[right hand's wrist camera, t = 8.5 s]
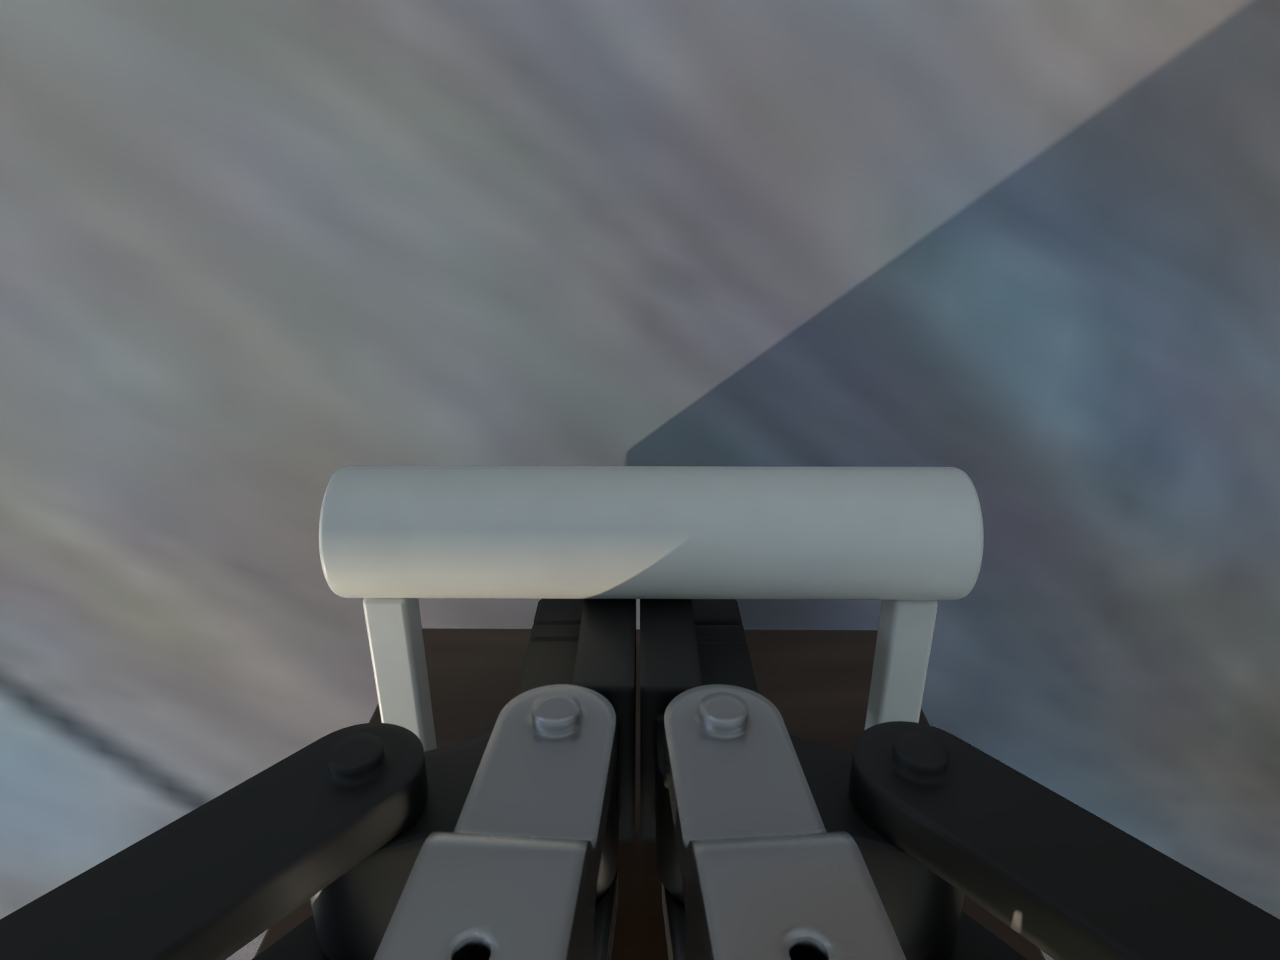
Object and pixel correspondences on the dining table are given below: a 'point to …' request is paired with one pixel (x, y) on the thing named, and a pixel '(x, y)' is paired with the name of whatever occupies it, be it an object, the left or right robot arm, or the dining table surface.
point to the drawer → (653, 595)
